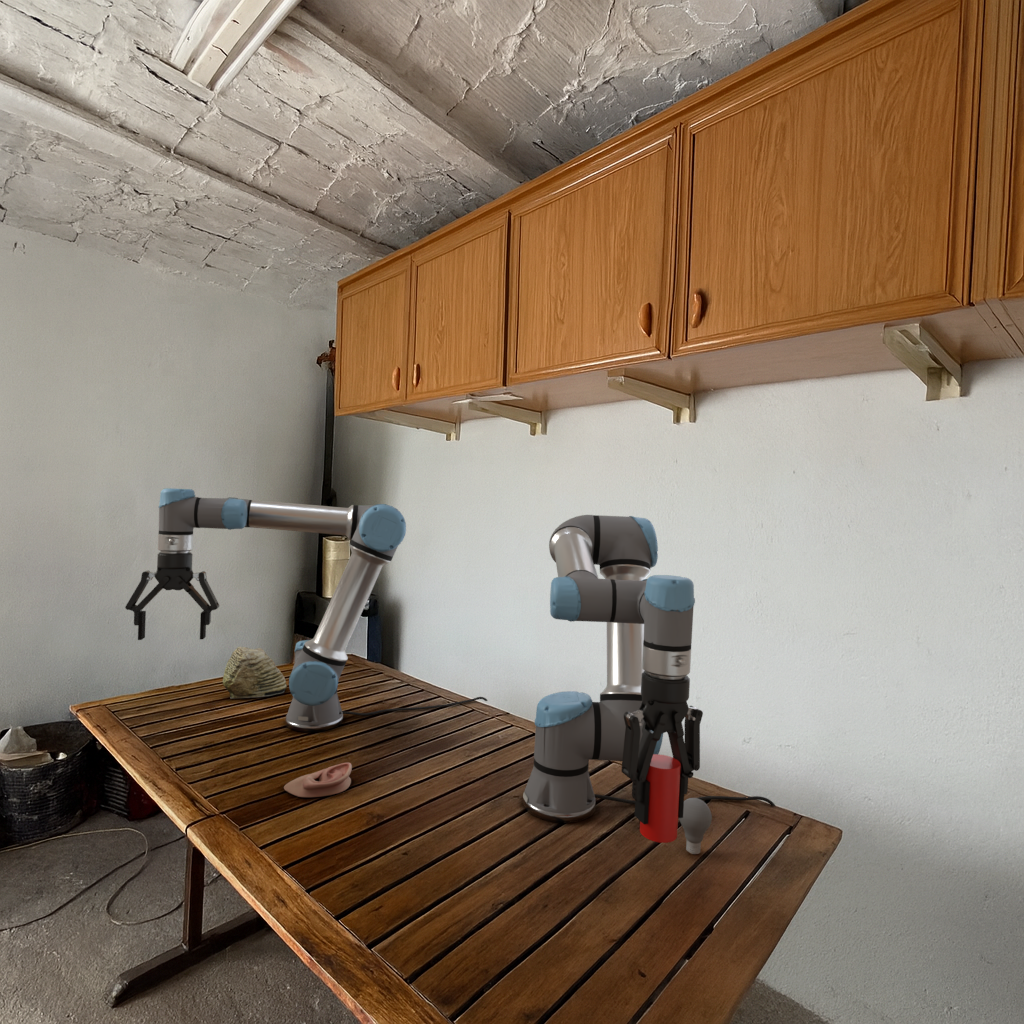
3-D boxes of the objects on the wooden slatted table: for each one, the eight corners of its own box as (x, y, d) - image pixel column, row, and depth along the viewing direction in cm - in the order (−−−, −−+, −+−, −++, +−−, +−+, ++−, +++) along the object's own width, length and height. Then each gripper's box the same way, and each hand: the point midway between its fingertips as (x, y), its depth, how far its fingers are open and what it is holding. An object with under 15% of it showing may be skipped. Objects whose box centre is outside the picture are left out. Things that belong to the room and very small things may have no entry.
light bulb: (672, 843, 121) (674, 791, 121) (702, 843, 121) (705, 792, 121) (683, 861, 115) (685, 807, 115) (715, 861, 115) (717, 807, 115)
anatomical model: (276, 775, 134) (304, 754, 145) (275, 793, 134) (304, 771, 145) (334, 783, 131) (358, 761, 142) (333, 802, 131) (357, 779, 142)
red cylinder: (660, 846, 97) (664, 772, 97) (632, 830, 102) (635, 758, 102) (684, 836, 101) (688, 764, 101) (656, 820, 106) (659, 751, 105)
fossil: (218, 695, 195) (220, 647, 195) (278, 685, 208) (279, 640, 207) (228, 703, 189) (230, 653, 188) (289, 692, 201) (290, 645, 201)
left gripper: (112, 551, 147) (109, 642, 148) (227, 554, 154) (224, 641, 154) (123, 549, 155) (120, 635, 155) (233, 551, 161) (230, 634, 161)
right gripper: (627, 683, 94) (619, 837, 95) (729, 676, 101) (722, 819, 101) (602, 670, 101) (595, 813, 102) (699, 664, 108) (692, 798, 108)
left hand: (172, 638), depth 155 cm, fingers open, 13 cm apart
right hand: (658, 816), depth 101 cm, fingers closed on red cylinder, 6 cm apart
